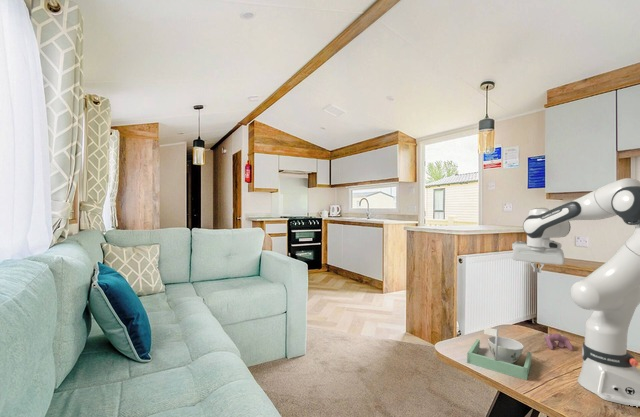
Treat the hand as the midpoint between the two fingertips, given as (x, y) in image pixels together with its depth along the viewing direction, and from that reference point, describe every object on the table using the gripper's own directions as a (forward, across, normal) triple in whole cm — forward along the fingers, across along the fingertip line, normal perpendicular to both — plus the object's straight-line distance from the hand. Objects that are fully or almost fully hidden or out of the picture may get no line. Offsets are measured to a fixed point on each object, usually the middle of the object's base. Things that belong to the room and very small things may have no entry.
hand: (537, 272), depth 149 cm
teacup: (+33, -9, -29) cm, 45 cm away
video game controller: (+33, +9, 0) cm, 34 cm away
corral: (+33, -10, -32) cm, 47 cm away
